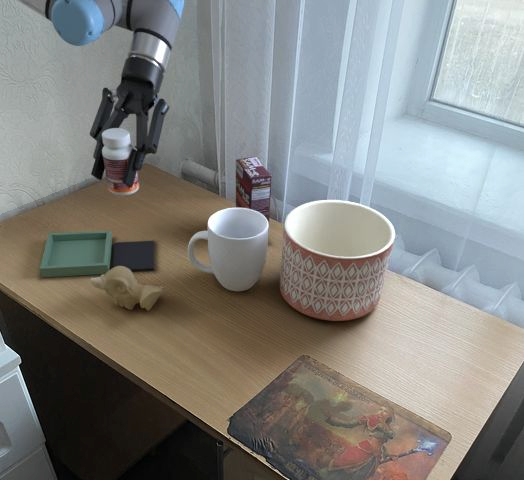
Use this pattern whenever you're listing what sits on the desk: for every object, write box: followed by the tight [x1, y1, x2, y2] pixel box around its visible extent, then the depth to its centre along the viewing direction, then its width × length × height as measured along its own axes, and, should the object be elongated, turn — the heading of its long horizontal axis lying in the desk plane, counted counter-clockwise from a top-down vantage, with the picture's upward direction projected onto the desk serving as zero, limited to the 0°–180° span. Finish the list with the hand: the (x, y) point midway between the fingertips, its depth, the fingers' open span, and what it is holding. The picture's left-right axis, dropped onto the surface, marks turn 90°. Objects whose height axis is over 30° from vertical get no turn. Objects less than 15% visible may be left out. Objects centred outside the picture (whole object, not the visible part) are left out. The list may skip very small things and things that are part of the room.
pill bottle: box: [102, 127, 140, 196], centre depth 104 cm, size 6×6×11 cm
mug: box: [187, 207, 269, 292], centre depth 100 cm, size 15×11×13 cm
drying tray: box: [39, 230, 113, 278], centre depth 108 cm, size 13×13×2 cm
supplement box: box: [235, 156, 273, 234], centre depth 111 cm, size 9×5×16 cm, turn 22°
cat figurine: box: [90, 266, 165, 311], centre depth 96 cm, size 8×7×12 cm
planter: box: [279, 199, 396, 322], centre depth 98 cm, size 19×19×15 cm
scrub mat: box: [112, 240, 155, 273], centre depth 109 cm, size 10×8×1 cm
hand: (111, 180), depth 104 cm, fingers closed on pill bottle, 6 cm apart
